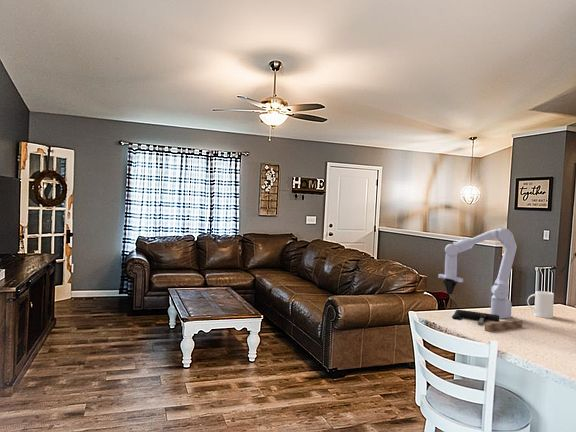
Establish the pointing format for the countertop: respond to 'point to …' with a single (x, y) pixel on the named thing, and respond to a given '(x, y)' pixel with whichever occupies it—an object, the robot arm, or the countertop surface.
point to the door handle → (475, 316)
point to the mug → (543, 304)
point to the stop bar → (503, 325)
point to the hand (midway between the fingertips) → (449, 294)
